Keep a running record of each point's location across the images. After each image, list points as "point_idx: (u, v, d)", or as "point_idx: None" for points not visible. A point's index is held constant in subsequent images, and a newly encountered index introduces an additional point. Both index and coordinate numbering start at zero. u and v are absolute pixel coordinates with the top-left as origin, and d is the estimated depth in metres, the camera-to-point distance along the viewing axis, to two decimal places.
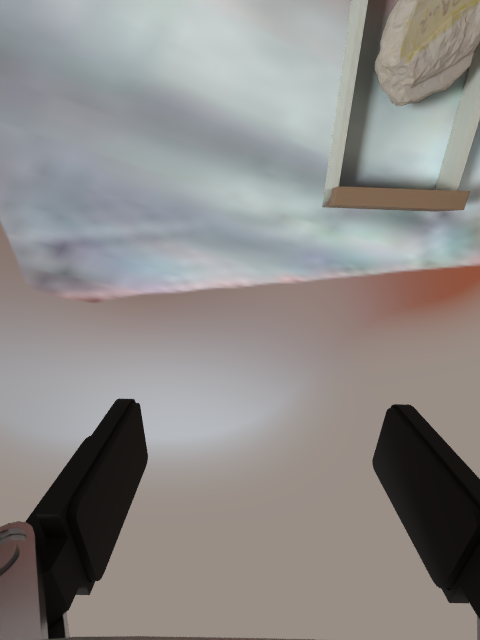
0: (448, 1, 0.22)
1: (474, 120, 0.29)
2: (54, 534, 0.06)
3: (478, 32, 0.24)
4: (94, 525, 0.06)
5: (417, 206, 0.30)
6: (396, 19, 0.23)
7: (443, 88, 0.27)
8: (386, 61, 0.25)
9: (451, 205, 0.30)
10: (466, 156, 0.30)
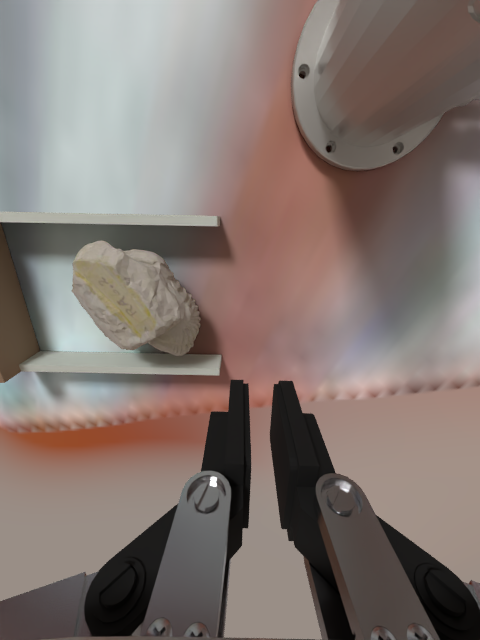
0: (125, 303, 0.19)
1: (89, 368, 0.27)
2: (234, 482, 0.07)
3: (123, 345, 0.22)
4: None
5: None
6: (112, 249, 0.19)
7: (100, 328, 0.24)
8: (82, 249, 0.19)
9: None
10: (57, 370, 0.27)
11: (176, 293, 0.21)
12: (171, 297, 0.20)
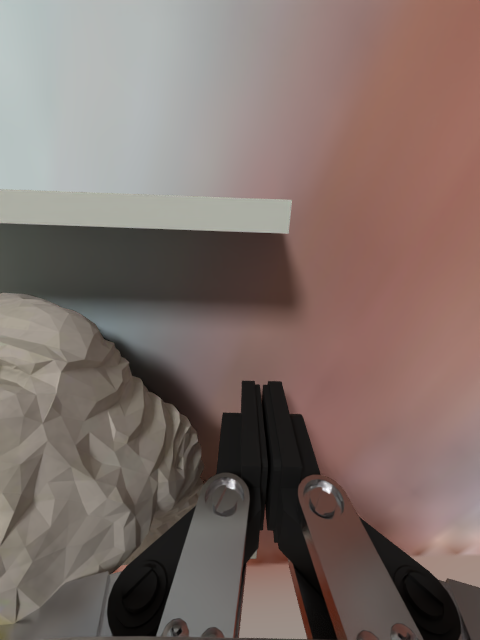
0: None
1: None
2: (251, 484, 0.07)
3: None
4: None
5: None
6: None
7: None
8: None
9: None
10: None
11: (124, 458, 0.06)
12: (100, 494, 0.06)
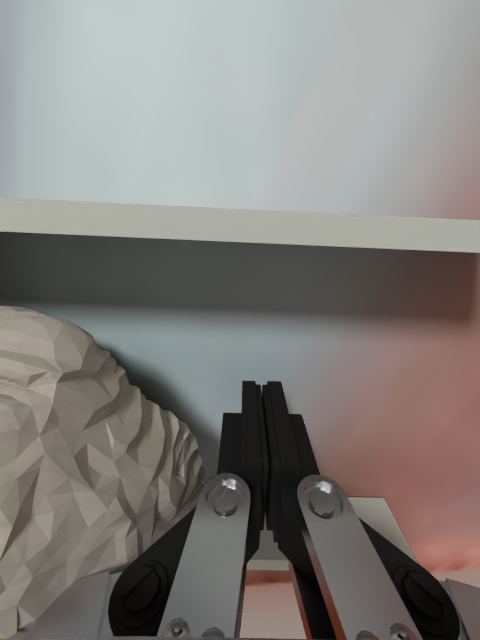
0: None
1: None
2: (252, 484, 0.07)
3: None
4: None
5: None
6: None
7: None
8: None
9: None
10: None
11: (123, 468, 0.06)
12: (100, 505, 0.05)
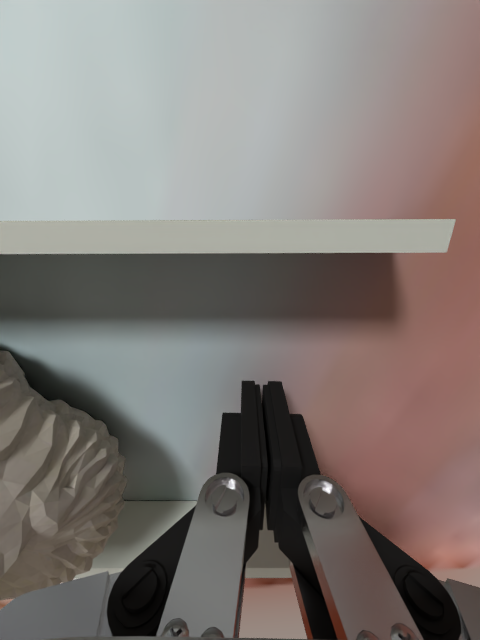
0: None
1: None
2: (251, 484, 0.07)
3: None
4: None
5: None
6: None
7: None
8: None
9: None
10: None
11: None
12: None
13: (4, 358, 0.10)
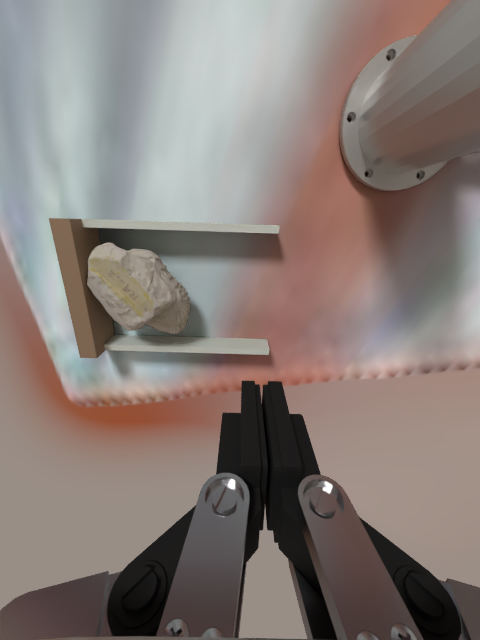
0: (129, 290, 0.25)
1: (162, 347, 0.32)
2: (251, 484, 0.07)
3: (129, 324, 0.28)
4: None
5: (71, 313, 0.28)
6: (117, 249, 0.24)
7: (109, 314, 0.30)
8: (94, 250, 0.25)
9: (81, 345, 0.30)
10: (135, 349, 0.32)
11: (168, 281, 0.27)
12: (164, 284, 0.26)
13: None
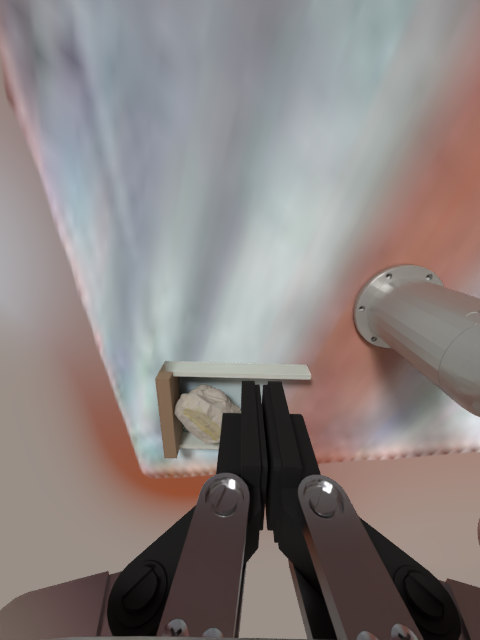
0: (210, 427, 0.37)
1: None
2: (251, 484, 0.07)
3: (204, 442, 0.39)
4: None
5: (162, 432, 0.40)
6: (203, 401, 0.36)
7: (187, 428, 0.41)
8: (185, 399, 0.37)
9: (166, 450, 0.42)
10: (201, 448, 0.44)
11: None
12: None
13: None
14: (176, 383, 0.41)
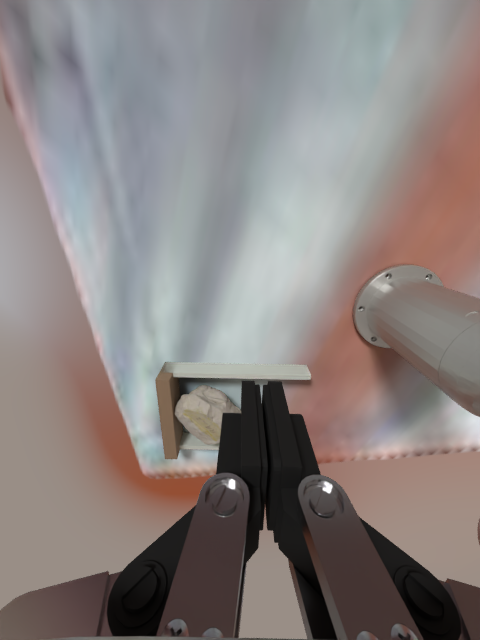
0: (210, 428, 0.37)
1: None
2: (251, 484, 0.07)
3: (205, 443, 0.39)
4: None
5: (163, 432, 0.40)
6: (203, 402, 0.36)
7: (187, 429, 0.41)
8: (185, 400, 0.37)
9: (166, 451, 0.42)
10: (202, 448, 0.44)
11: None
12: None
13: None
14: (176, 384, 0.41)
